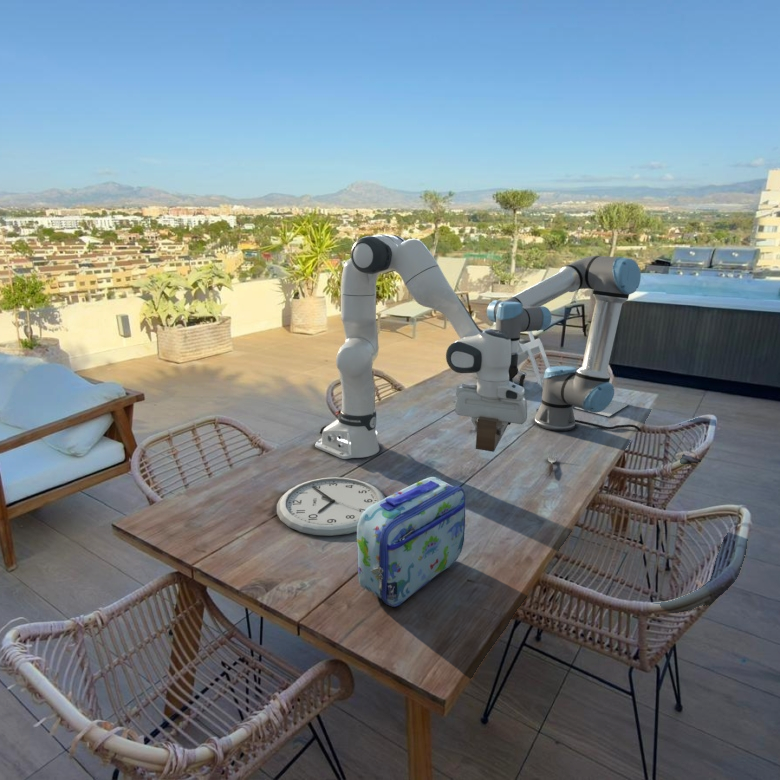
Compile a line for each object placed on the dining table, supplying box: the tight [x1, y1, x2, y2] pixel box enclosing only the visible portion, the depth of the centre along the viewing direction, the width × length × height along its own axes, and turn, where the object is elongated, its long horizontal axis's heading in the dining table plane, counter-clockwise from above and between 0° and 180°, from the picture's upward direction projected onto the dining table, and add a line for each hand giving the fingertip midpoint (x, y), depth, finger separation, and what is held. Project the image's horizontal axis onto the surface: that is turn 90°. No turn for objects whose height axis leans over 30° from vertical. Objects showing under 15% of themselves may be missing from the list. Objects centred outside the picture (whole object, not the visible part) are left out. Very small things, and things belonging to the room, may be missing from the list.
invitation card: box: [573, 400, 629, 418], centre depth 226 cm, size 21×1×15 cm
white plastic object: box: [471, 331, 551, 390], centre depth 258 cm, size 37×45×31 cm
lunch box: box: [356, 476, 466, 608], centre depth 110 cm, size 26×11×21 cm, turn 134°
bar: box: [475, 416, 509, 453], centre depth 160 cm, size 28×5×9 cm, turn 158°
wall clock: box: [276, 476, 386, 537], centre depth 142 cm, size 30×2×30 cm
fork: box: [547, 451, 558, 477], centre depth 168 cm, size 3×16×2 cm, turn 160°
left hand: (488, 433), depth 152 cm, fingers closed on bar, 5 cm apart
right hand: (500, 421), depth 170 cm, fingers closed on bar, 5 cm apart
